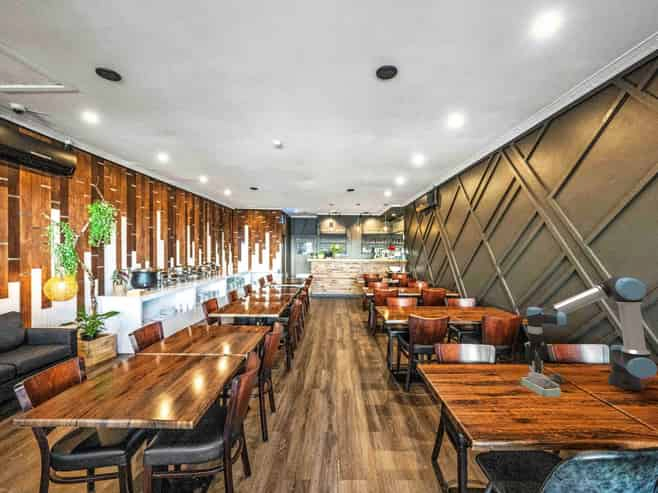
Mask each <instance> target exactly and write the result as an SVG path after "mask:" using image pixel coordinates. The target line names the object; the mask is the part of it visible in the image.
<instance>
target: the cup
mask: <svg viewBox="0 0 658 493" xmlns="http://www.w3.org/2000/svg"><path fill="white" fill-rule="evenodd" d="M530 372H531V373H529V372H528V375H527V376H528V377H529V381H530V382H531V383H534V384H536V385H538V386H540V387H541V388H543V389H545V388H546V387H545V386H550V384H551V380H550V379H549V378H547V377H545V376H544V375H545V374H544V373H542V374H540V373H534V372H535V371H534V372H532V371H530ZM543 374H544V375H543ZM546 380H549V383H548V384H545V381H546Z"/></svg>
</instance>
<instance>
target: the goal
mask: <svg viewBox="0 0 658 493" xmlns="http://www.w3.org/2000/svg"><path fill="white" fill-rule="evenodd" d="M519 378H520V379H519V380H520V385H521V386H523V387H525V388H527V389H528V390H530V391H533V393H536V394H537V395H539V396H541V397H543V398H544V399H546V398H547V399H548V398H559V397H562V389H561V388H560V387H559V388H555V389H549V388H544V389H543V388H541V387H540V386H538V385H536V384H534V383H531V382H530V381H529V376H528V377H523V376H521V377H519Z"/></svg>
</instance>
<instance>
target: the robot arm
mask: <svg viewBox="0 0 658 493" xmlns="http://www.w3.org/2000/svg"><path fill="white" fill-rule="evenodd" d="M646 293H647V288H646V286H645V284H644V283H643V282H642V281H640V280H639V279H636V278H633V277H626V276H625V277H624V276H612V277H610V278H607V279H605V280H602V281H600V282H599V283H597V284H594V285H593V287H592V288H589V289H586V290H585V291H582V292H580V293H578V294H575V295H572V296H571V297H568V298H566V299H564V300H562V301H559V302H557V303H555V304H552V305H550V306H547V307H542V308H541V307H537V306H535V307H534V306H530V307H527V308H526V320H527V321H526V324H527V339H528V341H527V342H524V343H523V345H524V358H525V360H527V361H528V365H529V372H535V360H533V359H534V356H535V351H537V355H538V356H541V372H544V364H545V363H544V362H545V361H546V360H547V342H544V341H543V338H544V337H543V324H544V325H557V326H565V325H566V324H567V322H568V321H567V319H568V318H567V315H566V314H568V313H569V314H570V313H572V312H574V311H576V310H579V309H581V308H583V307H585V306H588V305H590V304H594V303H596V302H597V301H598V302H599V301H600V300H602V299H605V300H607V299H611V298H612V297H613V302H615V303H616V304H617V305H618V312H619V320H620V325H621V326H620V327H621V334H622V342H623V343H622V344H612V345H611V346H610V349H609V351H610V366H611V367H610V368H611V369H610V371H609V375H608V377H607V382H608V383H609V384H610V385H611V386H614V387H616V388H620V389H623V390H624V389H625V390H629V391H645V384H644V383H643V382H642V379H650V378H653V377H654V376H656V375H657V373H658V367H657V364H656V363H655V362H654V361H653V360H652V353H651V351H650V350H648V349H647V347H646V340H645V333H644V326H643V324H644V323H643V318H642V313H641V312H642V311H641V305H642V304H643V303H644V296H646V295H647V294H646Z"/></svg>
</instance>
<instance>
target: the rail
mask: <svg viewBox="0 0 658 493" xmlns="http://www.w3.org/2000/svg"><path fill="white" fill-rule="evenodd" d="M522 377H529V375H525V374H522ZM548 378H549V379H550V380H551V381H553V382H555V383H556V382H557V383H558V382H560V383H562V382H564V376H563V375H560V374H558V373H557V372H553V376H548Z"/></svg>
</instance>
